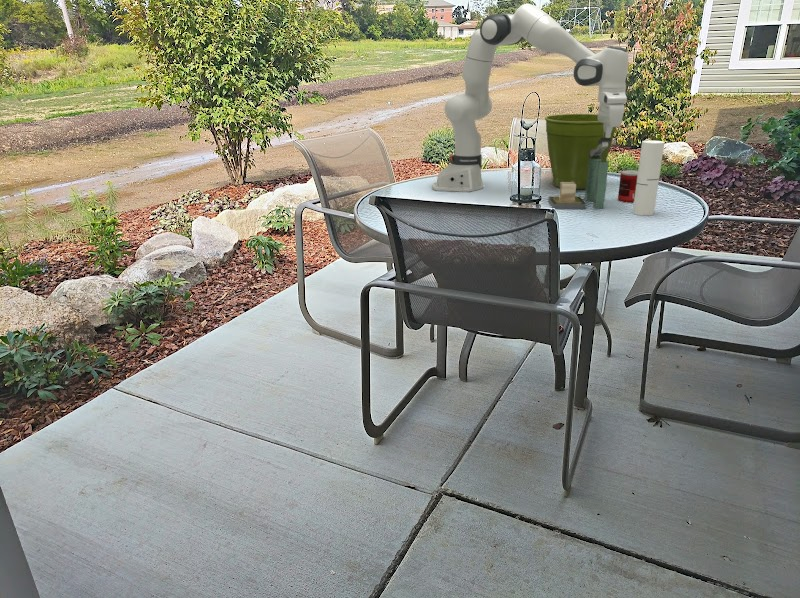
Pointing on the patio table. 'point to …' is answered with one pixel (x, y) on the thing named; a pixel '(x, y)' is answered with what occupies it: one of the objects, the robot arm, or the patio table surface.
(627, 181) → the canned food
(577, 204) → the press base
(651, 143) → the cylindrical container
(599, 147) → the press lever
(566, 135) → the plant pot
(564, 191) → the block
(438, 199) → the patio table surface
